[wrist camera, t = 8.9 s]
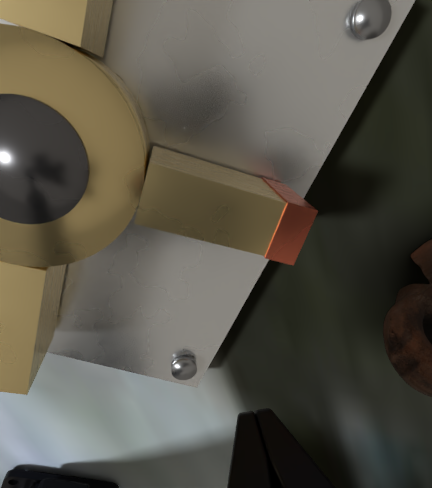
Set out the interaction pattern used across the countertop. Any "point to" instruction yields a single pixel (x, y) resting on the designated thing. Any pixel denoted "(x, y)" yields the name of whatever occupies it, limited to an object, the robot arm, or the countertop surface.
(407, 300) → the brown clawed figurine
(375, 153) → the countertop surface
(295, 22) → the flange plate
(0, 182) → the brass cross latch
